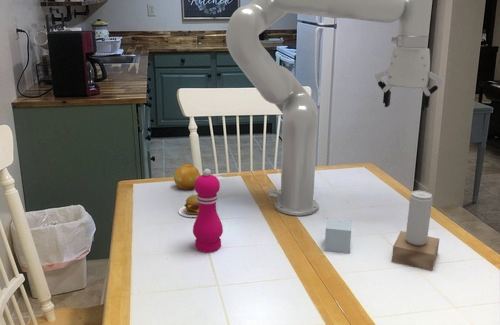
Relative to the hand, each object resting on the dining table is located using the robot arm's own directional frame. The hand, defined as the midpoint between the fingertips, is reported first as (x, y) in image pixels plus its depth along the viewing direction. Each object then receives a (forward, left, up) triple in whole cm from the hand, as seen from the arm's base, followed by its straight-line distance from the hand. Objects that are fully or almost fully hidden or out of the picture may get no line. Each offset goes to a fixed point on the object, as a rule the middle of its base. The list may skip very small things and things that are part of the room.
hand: (405, 108), depth 137 cm
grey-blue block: (-8, -28, -30) cm, 42 cm away
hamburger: (-50, -27, -31) cm, 65 cm away
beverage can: (+10, -25, -26) cm, 38 cm away
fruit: (-63, -11, -31) cm, 71 cm away
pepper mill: (-36, -43, -31) cm, 64 cm away
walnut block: (+10, -25, -30) cm, 41 cm away
